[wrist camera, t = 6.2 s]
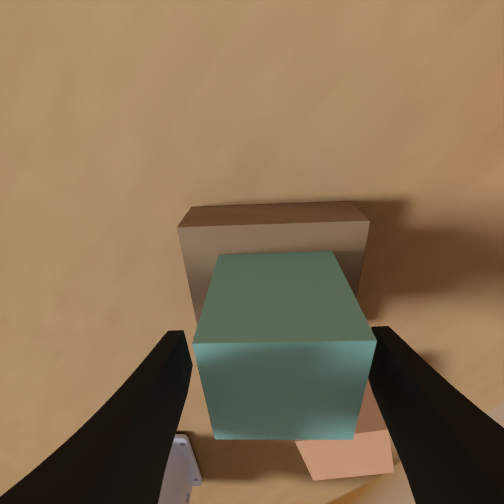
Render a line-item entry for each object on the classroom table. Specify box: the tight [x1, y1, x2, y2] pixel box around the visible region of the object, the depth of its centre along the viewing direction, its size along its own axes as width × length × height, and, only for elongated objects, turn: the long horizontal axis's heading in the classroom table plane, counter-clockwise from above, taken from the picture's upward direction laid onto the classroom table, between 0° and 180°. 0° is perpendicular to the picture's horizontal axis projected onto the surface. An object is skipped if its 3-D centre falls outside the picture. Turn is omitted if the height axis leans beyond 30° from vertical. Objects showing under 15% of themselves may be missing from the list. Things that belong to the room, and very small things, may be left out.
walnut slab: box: [177, 201, 370, 326], centre depth 14 cm, size 8×8×3 cm
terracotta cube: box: [295, 380, 394, 481], centre depth 17 cm, size 5×5×5 cm
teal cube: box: [192, 251, 377, 440], centre depth 10 cm, size 5×5×5 cm
